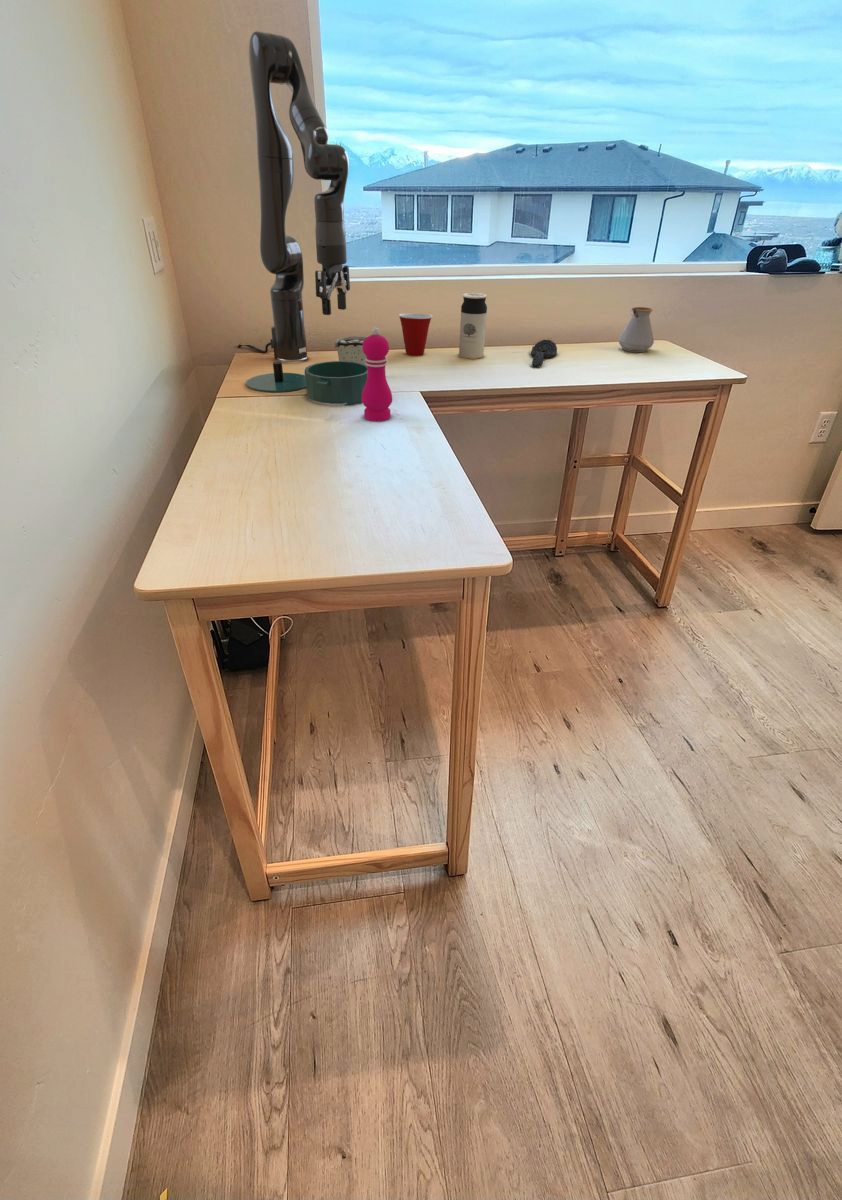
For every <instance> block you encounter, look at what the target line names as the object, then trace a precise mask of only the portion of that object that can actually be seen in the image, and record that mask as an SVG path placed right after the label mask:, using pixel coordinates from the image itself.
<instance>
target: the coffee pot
mask: <svg viewBox="0 0 842 1200" xmlns="http://www.w3.org/2000/svg"><path fill="white" fill-rule="evenodd" d="M653 311H654V310H653V308H650V307H644V306H643V307H642V306H636V307H631V312H632V314H631V318H630V320H629V321H628V323H627V325H626V326H625V328H624V330H623V331H622V333H621V334H620V336H619V338H618V343H619V346H620V347H621V348H622V350H623V351H625V352H629V353H645V352H647V350H649V349H651V348H652V346H653V345H654V343H655V341H654V335H653V330H652V324H651V319H650V316H651V313H652V312H653Z"/></svg>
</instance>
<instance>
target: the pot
mask: <svg viewBox="0 0 842 1200" xmlns="http://www.w3.org/2000/svg"><path fill="white" fill-rule="evenodd" d="M367 374H368V370H367V365H364V364H362V363H357V362H349V361H339V360H331V361H330V360H329V361H321V362H316V363H313V364H310V365H308V366H306V367H305V368H304V375H305V382H306V388H305V392H306V393H305V394H306V397H307V398H308V399H309V400H311V401H314V402H317V403H322V404H331V405H332V404H333V405H337V404H339V405H342V404H343V405H344V407H345V406H353V405H358V404H363V403H362V392H363V389H364V387H365V384H366V381H367Z"/></svg>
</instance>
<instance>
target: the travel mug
mask: <svg viewBox="0 0 842 1200" xmlns="http://www.w3.org/2000/svg"><path fill="white" fill-rule="evenodd" d="M462 298H463V302H462V303H461V306H460V322H459V323H460V325H459V326H460V327H459V344H458V356H459V357H461V358H463V359H467V360H477V359H482V358H483V357H484V355H485V342H486V328H487V313H488V305H487V303H486V299H487V298H488V295H487V294H485V293H480V292H467V293H463V294H462Z"/></svg>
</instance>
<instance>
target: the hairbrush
mask: <svg viewBox="0 0 842 1200" xmlns="http://www.w3.org/2000/svg"><path fill="white" fill-rule="evenodd" d="M551 339H552V338H548V339H545V337H543V339H541V338H540V339H538V341H536V342H534V344H533V345H532V346H531V351H530V356H532V361H531V366H532V367H533V368H540V367H542V365H543V363H544V358H554V357H556V356H557V353H558V346H557V344H556V343H555V342H554V341H553V339H552V340H551Z"/></svg>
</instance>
